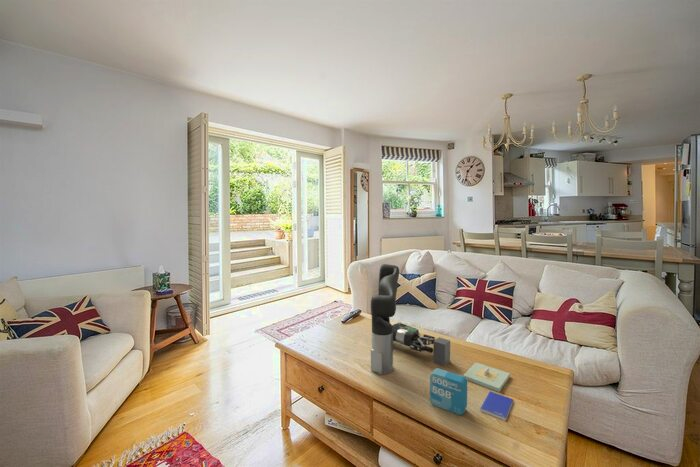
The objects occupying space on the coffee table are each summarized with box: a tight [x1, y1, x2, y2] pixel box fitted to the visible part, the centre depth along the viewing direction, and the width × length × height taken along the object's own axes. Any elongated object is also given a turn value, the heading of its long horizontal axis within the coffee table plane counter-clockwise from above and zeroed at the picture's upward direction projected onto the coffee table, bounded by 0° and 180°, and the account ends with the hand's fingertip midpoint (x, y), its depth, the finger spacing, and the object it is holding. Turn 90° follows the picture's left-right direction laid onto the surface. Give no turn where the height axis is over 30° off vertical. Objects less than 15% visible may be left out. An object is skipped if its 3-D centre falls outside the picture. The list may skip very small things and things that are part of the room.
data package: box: [429, 368, 468, 416], centre depth 107 cm, size 12×4×12 cm, turn 54°
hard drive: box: [479, 391, 514, 422], centre depth 108 cm, size 2×8×12 cm
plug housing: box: [432, 336, 451, 367], centre depth 138 cm, size 6×6×10 cm
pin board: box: [462, 362, 511, 393], centre depth 125 cm, size 14×14×4 cm
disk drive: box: [391, 322, 420, 335], centre depth 173 cm, size 10×3×15 cm
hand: (436, 347), depth 140 cm, fingers open, 8 cm apart
